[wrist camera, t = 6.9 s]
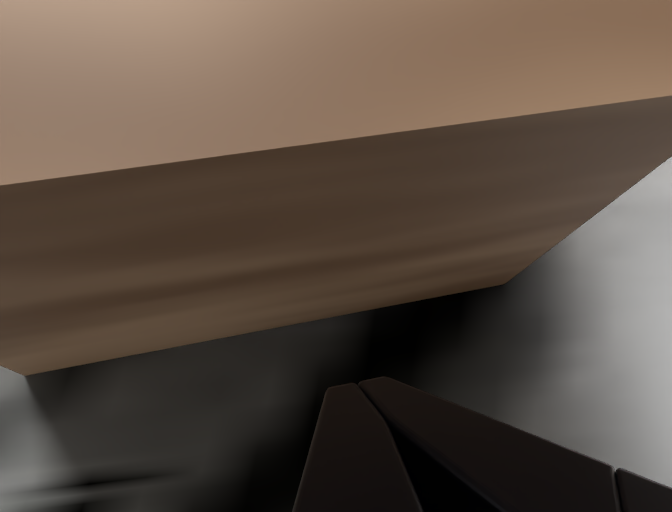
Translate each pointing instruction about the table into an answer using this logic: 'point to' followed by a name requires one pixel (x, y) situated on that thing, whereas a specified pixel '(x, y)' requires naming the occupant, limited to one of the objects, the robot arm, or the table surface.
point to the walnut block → (301, 157)
